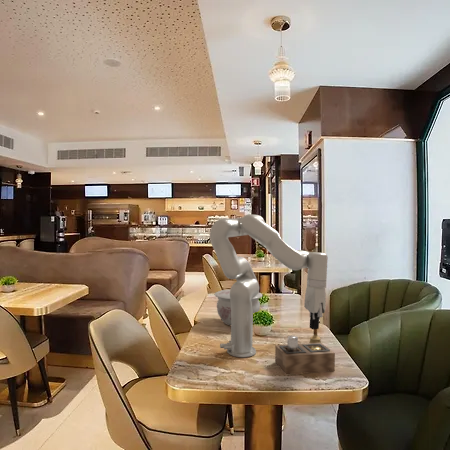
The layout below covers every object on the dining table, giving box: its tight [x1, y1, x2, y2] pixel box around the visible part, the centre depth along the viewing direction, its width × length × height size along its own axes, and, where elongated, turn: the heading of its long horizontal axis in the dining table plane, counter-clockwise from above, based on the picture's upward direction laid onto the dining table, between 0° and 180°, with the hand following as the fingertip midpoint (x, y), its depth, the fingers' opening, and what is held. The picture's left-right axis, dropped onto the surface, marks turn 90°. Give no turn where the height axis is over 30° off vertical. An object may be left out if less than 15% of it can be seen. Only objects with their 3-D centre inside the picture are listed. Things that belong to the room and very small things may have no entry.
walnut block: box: [274, 342, 336, 375], centre depth 140 cm, size 20×12×7 cm, turn 101°
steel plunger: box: [286, 334, 299, 352], centre depth 139 cm, size 4×4×7 cm
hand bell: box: [309, 329, 322, 343], centre depth 159 cm, size 8×8×16 cm
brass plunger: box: [311, 346, 321, 351], centre depth 141 cm, size 4×4×7 cm
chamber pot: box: [214, 288, 263, 326], centre depth 200 cm, size 28×28×21 cm
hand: (314, 328), depth 141 cm, fingers closed
